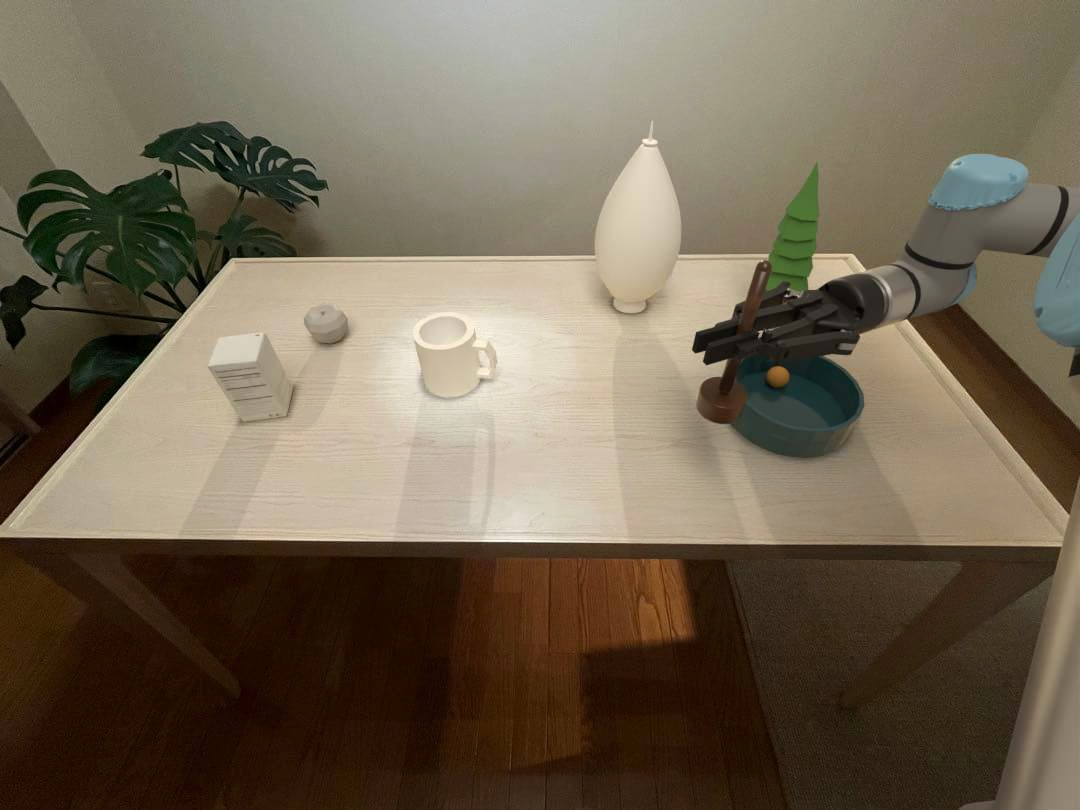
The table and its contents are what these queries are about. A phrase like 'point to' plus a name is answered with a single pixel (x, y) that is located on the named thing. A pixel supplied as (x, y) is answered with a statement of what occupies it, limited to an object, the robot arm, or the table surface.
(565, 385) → the table surface
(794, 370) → the bowl
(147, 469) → the table surface
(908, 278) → the robot arm
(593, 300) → the table surface
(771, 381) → the dough ball
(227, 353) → the white packaging box
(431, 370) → the mug
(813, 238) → the decorative tree
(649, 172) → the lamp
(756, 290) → the wooden peg stand
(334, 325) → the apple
